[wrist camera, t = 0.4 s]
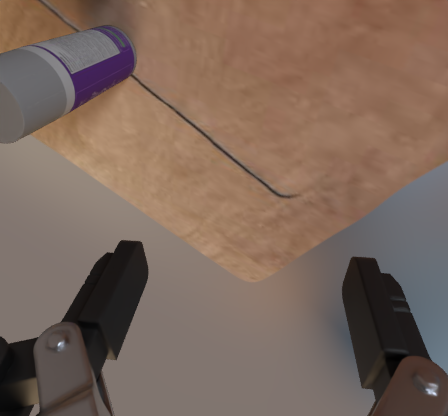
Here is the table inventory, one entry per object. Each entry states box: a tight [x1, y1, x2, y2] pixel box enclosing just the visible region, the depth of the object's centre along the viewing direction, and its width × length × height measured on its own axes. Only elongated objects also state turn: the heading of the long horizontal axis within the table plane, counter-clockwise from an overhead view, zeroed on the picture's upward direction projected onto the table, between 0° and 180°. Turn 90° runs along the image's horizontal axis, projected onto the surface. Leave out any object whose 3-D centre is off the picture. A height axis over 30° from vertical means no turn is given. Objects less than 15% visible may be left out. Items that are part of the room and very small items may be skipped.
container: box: [0, 25, 136, 143], centre depth 24 cm, size 5×5×15 cm
